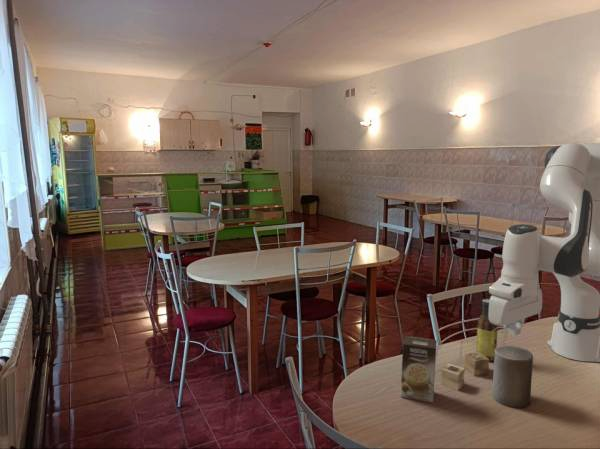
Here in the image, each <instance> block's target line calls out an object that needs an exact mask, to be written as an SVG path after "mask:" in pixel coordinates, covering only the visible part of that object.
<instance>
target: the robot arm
mask: <svg viewBox="0 0 600 449" xmlns="http://www.w3.org/2000/svg"><path fill="white" fill-rule="evenodd" d="M539 190H540V193H541V195H542V196H543V198H544V199H545V200H546V201H547V202H549V203H550V204H551V205H554V206H555V207H557V208H561V209H563V210H565V211H567V212H568V222H569V224H570V225H571V227H570V232H569V233H570V234H569V235H568V236H566V237H558V236H551V235H550V236H549V235H544V234H540V230H539V228H538V227H537V226H535V225H532V224H523V223H521V224H513V225H510V227H508V228H507V230H506V232H505V236H504V241H503V247H502V253H501V256H502V258H501V259H502V263H503V264H502V269H501V271H500V274H501V275H500V277H499V278H498V279H497V280H496V281H495V282H494V283H493V284H492V285H490V286H489V290H488V293H489V294H490V295H491V296H490V298H489V299H490V301H489V321H490V323H492V324H494V325H497V326H498V327H504V326H507V327H508V334H509V335H510V336H513V337H514V336H517V335H520V334H522V328H523V326H524V323H525V321H526V318H529V317H532V316H535V315H538V314H540V313H541V311H542V308H543V293H542V292H543V291H542V289H541V288H540V283H539V282H538V279H539V273H538V271H541V272H542V271H543V272H547V273H552V274H553V275H554V276H555V278H556V280H557V282H558V284H559V288H560V309H559V310H558V315H557V317H558V318H557V320H558V321H556V322H554V324H553V328H552V333H551V339H549V340H547V343H546V344H547V345H548V346H550V348H551V350H552V351H553V352H554V353H556V354H557V355H559V356H562V357H564V358H567V359H570V360H575V361H579V362H595V363H600V292H599V290H597V288H595V287H594V286H592V285H590V284H589V283H587V282H586V281H584V280H583V279H582V278H581V276H580V275H588V276H589V275H590V276H594V277H595V276H596V277H600V143H599V142H590V143H589V142H585V143H577V142H576V143H575V142H574V143H573V142H569V143H565V144H563V145H557V146H554V147H551V148H550V149H549V150H548V151H547V153H546V155H545V158H544V171H543V174H542V176H541V179H540V183H539Z"/></svg>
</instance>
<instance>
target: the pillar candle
mask: <svg viewBox="0 0 600 449" xmlns="http://www.w3.org/2000/svg"><path fill="white" fill-rule="evenodd" d="M533 361H534V356H533V353H532V352H531V351H529V350H528V349H525V348H522V347H519V346H514V345H505V344H504V345H499V346H497V347H496V348H495V355H494V360H493V375H492V376H493V377H492V380H493V381H492V397H493V399H494V400H495V401H496V402H498V403H500V404H502V405H503V406H507V407H510V408H518V409H520V408H521V409H522V408H528V406H530V405H531V393H532V392H531V391H532V381H533V380H532V378H533V377H532V376H533V363H534V362H533Z"/></svg>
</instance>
